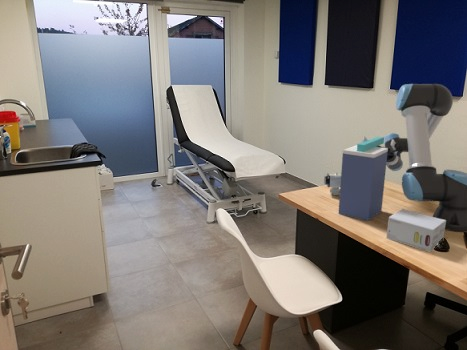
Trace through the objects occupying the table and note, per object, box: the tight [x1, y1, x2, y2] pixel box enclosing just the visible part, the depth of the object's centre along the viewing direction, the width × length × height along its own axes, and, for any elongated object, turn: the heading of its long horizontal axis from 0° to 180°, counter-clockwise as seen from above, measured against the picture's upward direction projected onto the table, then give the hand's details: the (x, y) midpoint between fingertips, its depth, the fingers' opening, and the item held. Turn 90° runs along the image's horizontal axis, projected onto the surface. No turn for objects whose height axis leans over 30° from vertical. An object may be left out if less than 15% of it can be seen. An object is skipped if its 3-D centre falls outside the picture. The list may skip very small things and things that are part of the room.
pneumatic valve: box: [323, 172, 341, 196], centre depth 203 cm, size 6×12×12 cm, turn 88°
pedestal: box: [338, 144, 388, 222], centre depth 176 cm, size 16×14×30 cm
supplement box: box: [386, 208, 446, 253], centre depth 150 cm, size 17×13×9 cm
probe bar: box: [356, 136, 385, 152], centre depth 176 cm, size 24×3×3 cm, turn 140°
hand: (377, 140), depth 182 cm, fingers open, 13 cm apart
